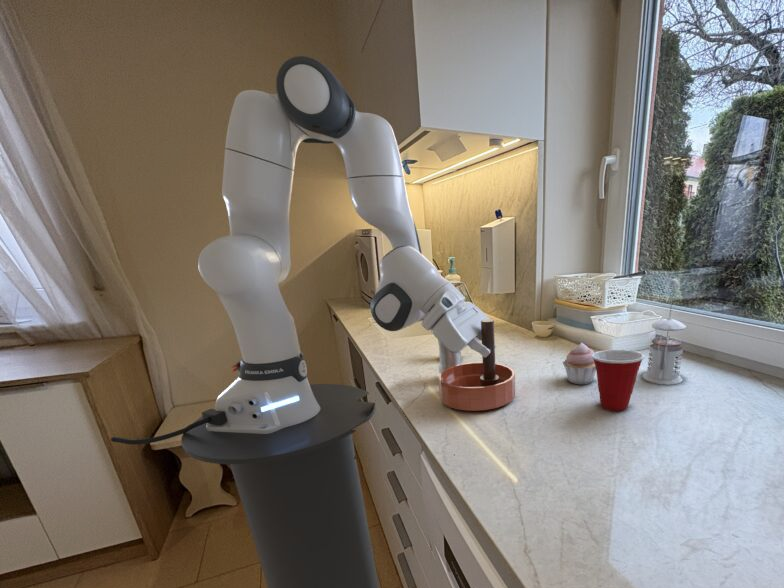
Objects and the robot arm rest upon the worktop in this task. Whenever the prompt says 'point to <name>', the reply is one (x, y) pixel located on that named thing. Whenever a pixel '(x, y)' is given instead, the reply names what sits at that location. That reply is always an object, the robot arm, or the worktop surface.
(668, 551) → the worktop surface
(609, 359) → the plastic cup
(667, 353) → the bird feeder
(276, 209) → the robot arm
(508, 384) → the bowl
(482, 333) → the stirring stick
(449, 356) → the silver elongated piece
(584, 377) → the cupcake
